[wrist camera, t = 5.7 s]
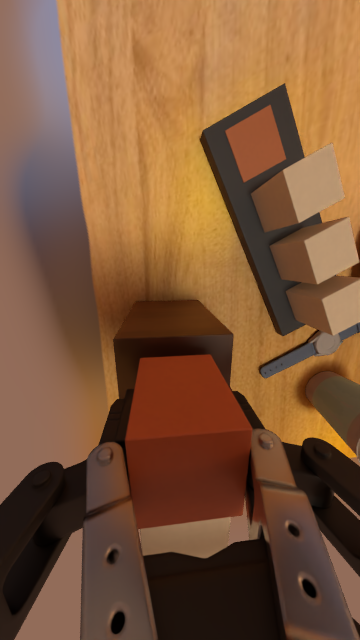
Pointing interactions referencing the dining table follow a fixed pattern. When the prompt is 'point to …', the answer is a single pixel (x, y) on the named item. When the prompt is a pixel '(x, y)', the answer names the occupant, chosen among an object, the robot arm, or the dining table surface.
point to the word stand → (163, 341)
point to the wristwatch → (310, 350)
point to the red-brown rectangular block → (185, 443)
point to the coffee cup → (337, 405)
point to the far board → (246, 207)
